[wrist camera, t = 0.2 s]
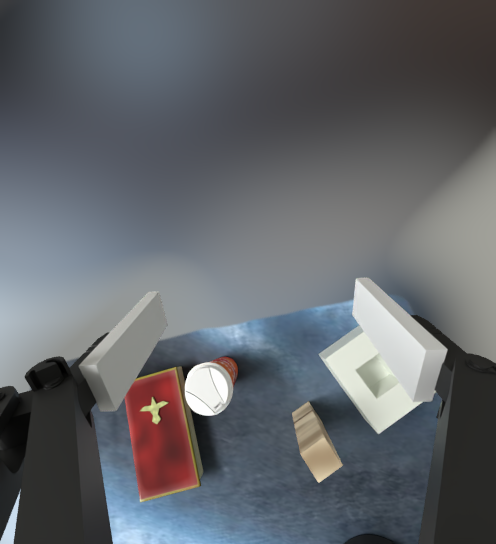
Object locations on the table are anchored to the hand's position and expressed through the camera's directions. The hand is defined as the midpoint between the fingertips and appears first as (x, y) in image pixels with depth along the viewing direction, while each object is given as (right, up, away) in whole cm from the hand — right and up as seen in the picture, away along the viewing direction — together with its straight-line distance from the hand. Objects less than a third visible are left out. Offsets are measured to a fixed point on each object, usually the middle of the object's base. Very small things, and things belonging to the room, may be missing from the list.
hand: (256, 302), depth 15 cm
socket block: (+23, -17, +30) cm, 41 cm away
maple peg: (+11, -26, +29) cm, 41 cm away
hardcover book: (-17, -29, +32) cm, 47 cm away
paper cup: (-5, -19, +33) cm, 38 cm away
